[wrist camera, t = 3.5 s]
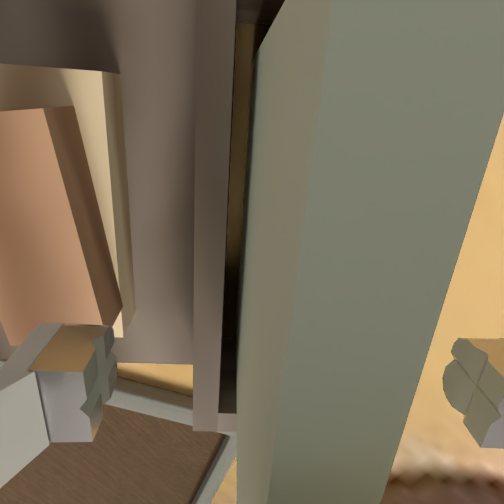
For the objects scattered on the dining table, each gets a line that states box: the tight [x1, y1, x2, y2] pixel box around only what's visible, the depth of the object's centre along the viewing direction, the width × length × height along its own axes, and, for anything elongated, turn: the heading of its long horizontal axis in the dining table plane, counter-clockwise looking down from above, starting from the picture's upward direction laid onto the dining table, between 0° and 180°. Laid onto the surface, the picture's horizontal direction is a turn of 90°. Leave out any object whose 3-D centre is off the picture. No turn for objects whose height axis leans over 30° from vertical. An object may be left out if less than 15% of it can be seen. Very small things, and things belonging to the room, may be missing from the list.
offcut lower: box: [0, 64, 136, 338], centre depth 17 cm, size 5×12×2 cm, turn 176°
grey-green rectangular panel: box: [236, 0, 504, 504], centre depth 13 cm, size 2×14×16 cm, turn 176°
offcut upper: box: [0, 106, 123, 346], centre depth 15 cm, size 4×9×2 cm, turn 4°
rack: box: [0, 0, 285, 432], centre depth 17 cm, size 18×19×6 cm
